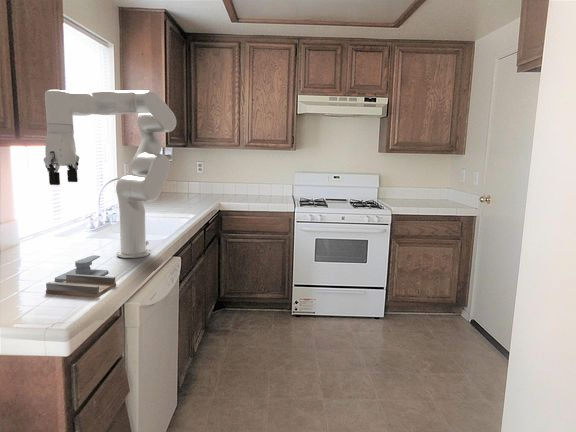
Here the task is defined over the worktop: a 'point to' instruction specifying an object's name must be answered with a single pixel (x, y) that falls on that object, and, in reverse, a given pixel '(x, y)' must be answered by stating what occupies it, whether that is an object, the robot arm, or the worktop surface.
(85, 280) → the stand
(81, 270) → the shower valve
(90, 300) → the worktop surface
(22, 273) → the worktop surface
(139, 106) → the robot arm
